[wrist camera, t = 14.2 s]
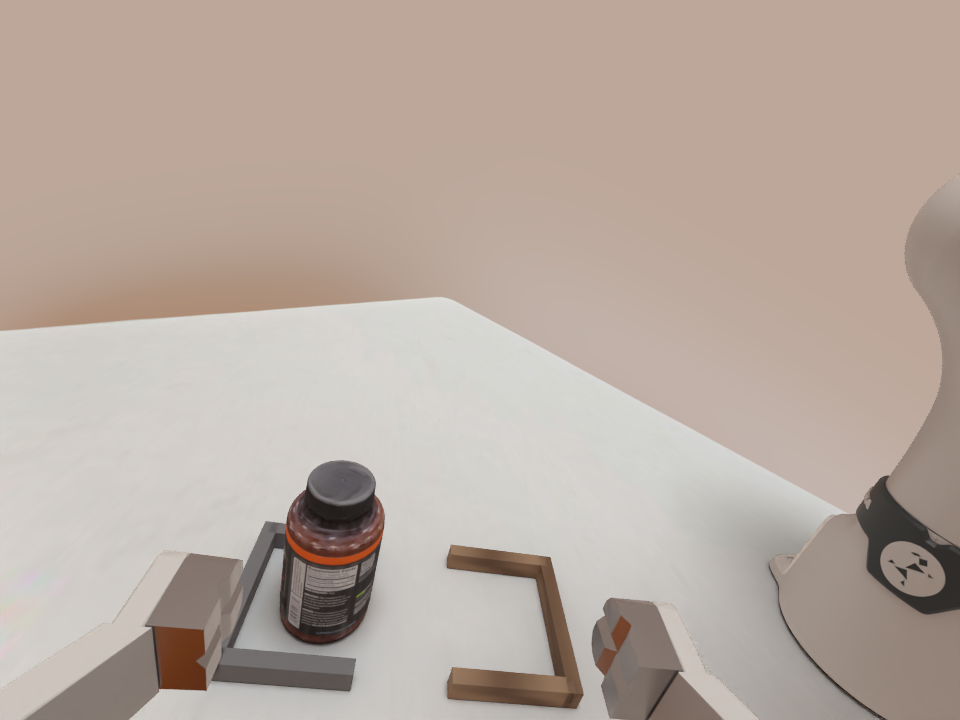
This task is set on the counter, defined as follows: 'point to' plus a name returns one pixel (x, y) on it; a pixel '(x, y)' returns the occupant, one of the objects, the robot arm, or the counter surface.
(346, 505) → the supplement bottle
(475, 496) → the counter surface
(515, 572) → the walnut bay
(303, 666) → the charcoal bay
